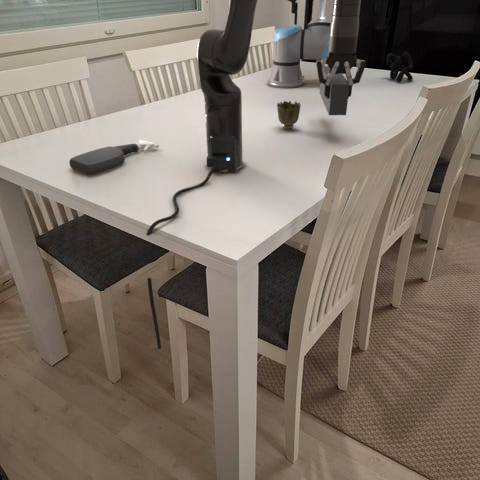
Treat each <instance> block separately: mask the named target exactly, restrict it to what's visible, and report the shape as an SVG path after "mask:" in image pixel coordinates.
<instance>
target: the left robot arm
mask: <svg viewBox="0 0 480 480" xmlns="http://www.w3.org/2000/svg"><path fill="white" fill-rule="evenodd" d="M228 3H229V4H228V13H227V17H226V22H225V26H224V29H217V28H216V29H213V28H212V29H207V30H205V31H204V32H203V33H202V34H201V36H200V37H199V39H198V42H197V49H196V61H197V69H198V78H199V85H200V90H201V92H202V94H203V99H204V100H203V101H204V116H205V117H204V118H205V133H206V134H205V135H206V151H207V152H206V153H207V156H206V168H208V169H209V172H208V174H207V176H206V178H204V180H203V181H202V182H200V183H199V184H197V185H193V186H191V187H185V188H182V189H179V190H178V191H176V192H175V193H174V195H173V196H172V203H173V206H174V209H175V210H174V212H173V213H172V214H171V215H169V216H165V217H162V218H160V219H157V220H155V221H154V222H152V224H151V225H150V226H149V228H148V229H147V231H146V236H151V234H152V232H153V230H154V229H155V228H156V227H157V226H158V225H160V224H162V223H164V222H167V221H171V220H173V219H175V218H176V217H177V216H178V214H179V212H180V207H179V204H178V201H177V198H178V196H180V195H181V194H183V193H185V192H189V191H192V190H195V189H198V188H200V187H204V186H205V185H206V184H207V183H208V182H209V180H210V178H211V176H212V174H213V173H237V171H239V170H240V169H242V168H243V166H244V160H243V114H242V113H243V109H242V108H243V106H242V105H243V104H242V103H243V102H242V101H243V100H242V99H243V98H242V96H243V95H242V89H241V88H240V87H239V86H238V85H237V84H236V83H235V82H234V81H233V79H232V78H231V76H234V75H238V74H239V73H241V71H243V69H244V67H245V65H246V63H247V60H248V57H249V52H250V46H251V40H252V33H253V26H254V20H255V14H256V8H257V4H258V0H228ZM361 3H362V0H333V11H332V19H331V24H330V30H329V33H330V35H329V46H328V55H327V57H326V59H324V60H315V66H316V72H317V78H318V81H319V84H320V83H323V84H325V89H324V95H325V97H326V98H327V99H329V95H330V83H331V81H332V78H333V77H334V75H335V74H339V73H342V74H343V75H345V79H346V80H347V81H348V83H349V84H350V85H349V94H348V100H349V98H350V97H351V96H352V91H353V86H354V85H355V84H359V83H360V82H361V79H362V76H363V73H364V71H365V68H366V66H367V62H366V61H365V60H364V59H360V58H359V59H358V58H357V47H358V46H357V45H358V37H359V29H360V13H361V12H360V11H361ZM355 65H356V67H357V70H356V72H355V75H354V77H353V75H352V72H351V71H352V68H353V67H354V66H355ZM324 66H329V68H330V70H329V72H328V75H327V77H326V79H325V78H323V72H322V68H324ZM147 287H148V297H149V303H150V309H151V313H152V314H151V315H152V319H153V326H154V331H155V337H156V345H157V349H158V350H161V349H162V343H161V336H160V331H159V330H160V329H159V324H158V317H157V312H156V307H155V300H154V293H153V283H152V278H151V277H147Z"/></svg>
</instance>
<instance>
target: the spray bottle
mask: <svg viewBox="0 0 480 480" xmlns="http://www.w3.org/2000/svg"><path fill="white" fill-rule="evenodd" d="M159 148H160V145H159V144H158V143H155V142H151V141H148V140H144V139H139V140H138V141H137V142H135V143H129V144H128V143H126V144H122V145H113V146H105V147H100V148H97V149H94V150H90V151H87V152H83V153H81V154H78V155H74V156H73V157H70V159H69V161H68V162H69V167H70V168H71V169H72V170H74V171H75V172H78V173H81V174H83V175H85V176H89V177H90V176H91V177H92V176H95V175H99V174H102V173H105V172H107V171H110V170H113V169H116V168H118V167H120V166H122V165H123V164H124V163H125V158H126V156H127V155H131V154H133V153H138V151H140V150H143V151H144V152H146V151H147V150H149V149H159Z"/></svg>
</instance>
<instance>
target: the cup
mask: <svg viewBox="0 0 480 480" xmlns="http://www.w3.org/2000/svg"><path fill="white" fill-rule="evenodd" d="M301 106H302V104H301V102H297V101H295V102H294V103H292V101H291V100H289V101H287V100H284V101H283V102H282V101H280V102H278V103H277V104H276V108H277V109H276V110H277V118H278V121H279V123H280V124H282V129H283V130H286V131H291V130H293V129H294V127H295V124H296V123H297V122H298V120H299V118H300V112H301Z"/></svg>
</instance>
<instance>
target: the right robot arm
mask: <svg viewBox="0 0 480 480" xmlns="http://www.w3.org/2000/svg"><path fill="white" fill-rule="evenodd" d="M287 1H288V2H290V3H291V10H290V11H291V14H294V18H293V25H288V26H287V25H286V26H282V27H279V28H276V29H275V30H274V32H273V40H272V43H273V48H272V49H273V51H272V53H273V55H272V56H273V57H272V68H271V70H270V75H269V78H268V85H269V87H270V86H271V87H272V88H273V87H274V88H280V89H291V88H299V87H301V86H303V85H304V80H305V75H303V74H302V73H303V72H302V68H301V60H315V61H317V60H324V59H326V57H327V55H328V46H329V35H330V33H329V30H330V24H331V19H332V11H333V0H312V10H311V12H312V13H311V20H310V22H309V23H307V28H306V29H303V27H302V25H300V24H299V25H298V9H299V3H298V2H297V1H298V0H287Z"/></svg>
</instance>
